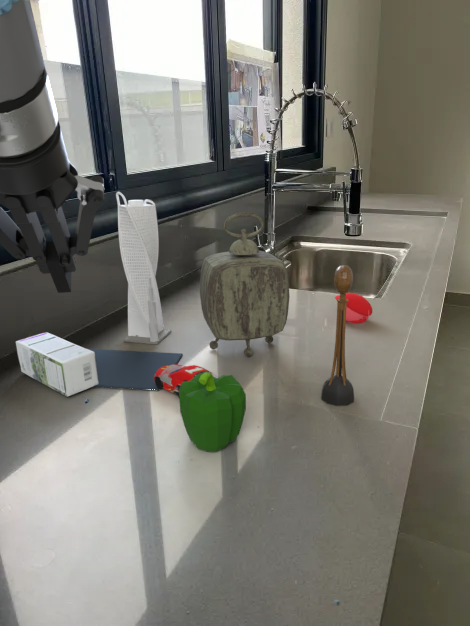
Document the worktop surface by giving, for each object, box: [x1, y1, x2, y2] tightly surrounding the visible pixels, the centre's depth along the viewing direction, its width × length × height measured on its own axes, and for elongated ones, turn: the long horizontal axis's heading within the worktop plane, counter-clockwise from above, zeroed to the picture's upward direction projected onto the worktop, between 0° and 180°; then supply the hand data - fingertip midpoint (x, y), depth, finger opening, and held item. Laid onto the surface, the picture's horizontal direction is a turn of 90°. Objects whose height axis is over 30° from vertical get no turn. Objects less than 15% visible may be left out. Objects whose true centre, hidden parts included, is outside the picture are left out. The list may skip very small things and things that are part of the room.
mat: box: [87, 348, 183, 391], centre depth 84 cm, size 18×14×1 cm
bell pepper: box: [178, 372, 247, 453], centre depth 61 cm, size 8×8×10 cm
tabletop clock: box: [199, 211, 291, 357], centre depth 86 cm, size 14×9×25 cm, turn 104°
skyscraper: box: [115, 191, 172, 345], centre depth 95 cm, size 8×8×28 cm
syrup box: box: [15, 331, 99, 397], centre depth 79 cm, size 6×6×14 cm
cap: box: [334, 292, 373, 324], centre depth 105 cm, size 8×6×6 cm
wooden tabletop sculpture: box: [321, 264, 355, 407], centre depth 70 cm, size 6×5×20 cm
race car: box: [154, 364, 220, 397], centre depth 74 cm, size 13×5×4 cm, turn 47°
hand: (64, 282), depth 59 cm, fingers closed
